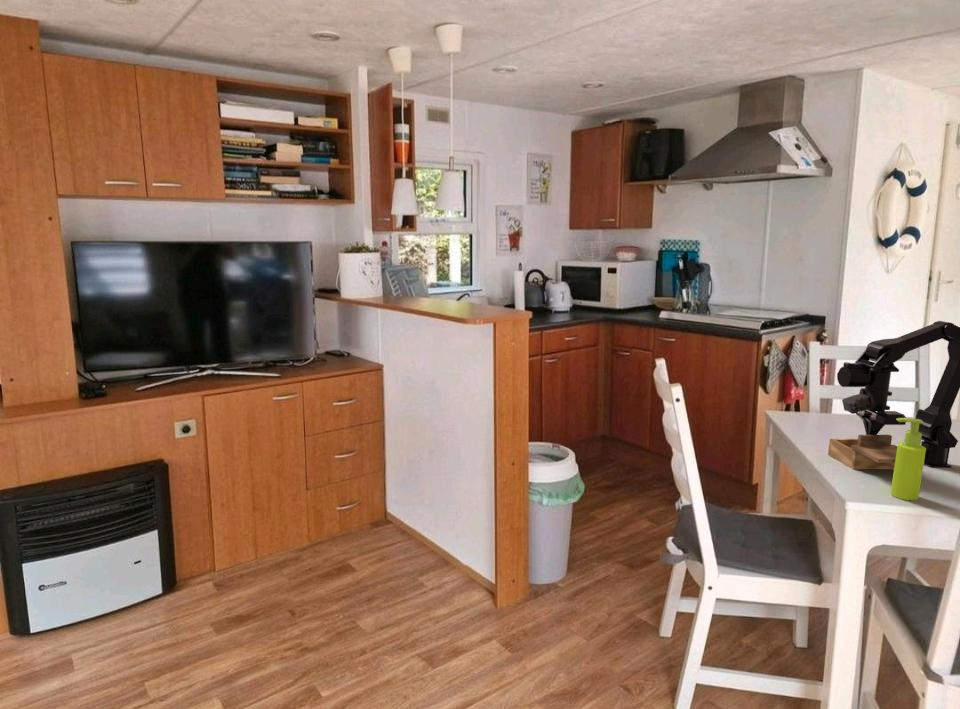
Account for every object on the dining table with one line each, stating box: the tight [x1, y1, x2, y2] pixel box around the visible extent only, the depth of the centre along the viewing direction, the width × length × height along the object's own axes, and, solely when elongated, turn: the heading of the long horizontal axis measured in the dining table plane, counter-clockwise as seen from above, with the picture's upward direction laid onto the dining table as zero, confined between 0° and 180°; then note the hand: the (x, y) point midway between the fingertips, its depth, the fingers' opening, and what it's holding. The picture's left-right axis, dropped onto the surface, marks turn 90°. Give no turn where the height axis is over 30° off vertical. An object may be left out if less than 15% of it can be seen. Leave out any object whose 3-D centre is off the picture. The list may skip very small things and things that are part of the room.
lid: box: [851, 434, 898, 463], centre depth 176 cm, size 13×12×4 cm
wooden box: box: [827, 438, 895, 470], centre depth 186 cm, size 13×12×5 cm
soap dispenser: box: [890, 417, 926, 502], centre depth 160 cm, size 6×7×20 cm
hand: (869, 440), depth 183 cm, fingers closed
